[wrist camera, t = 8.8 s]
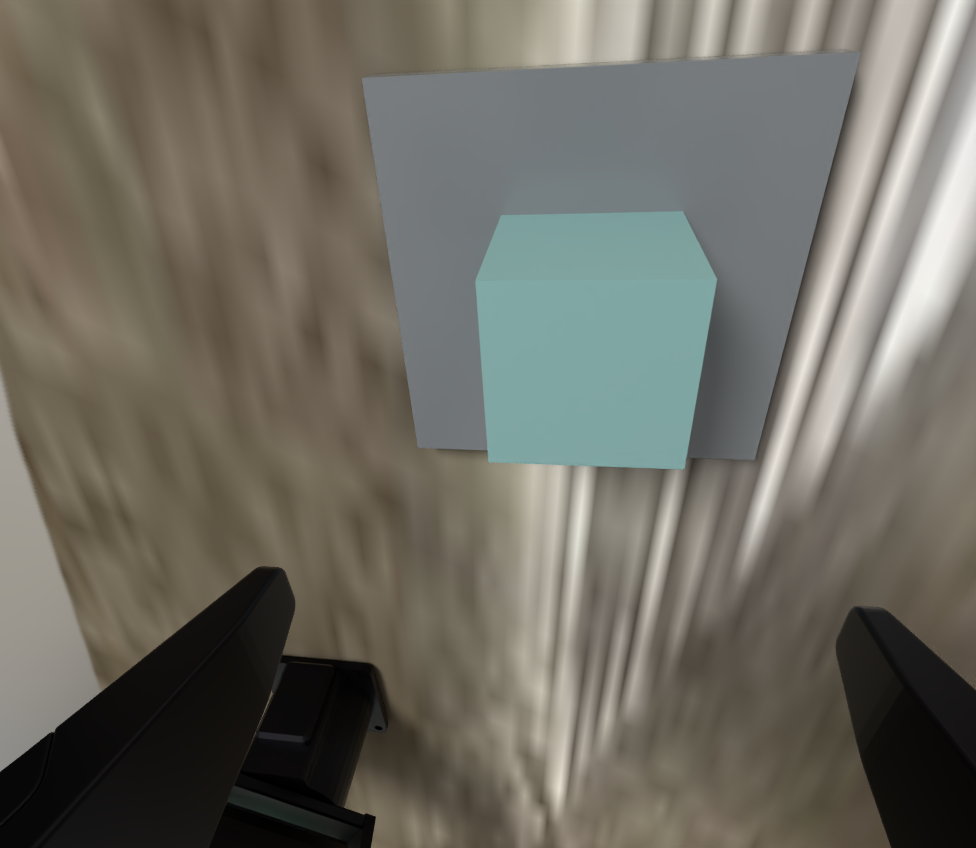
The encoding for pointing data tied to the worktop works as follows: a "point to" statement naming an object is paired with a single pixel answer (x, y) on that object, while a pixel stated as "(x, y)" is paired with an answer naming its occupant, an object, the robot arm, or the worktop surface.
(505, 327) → the block
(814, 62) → the pad
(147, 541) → the worktop surface
